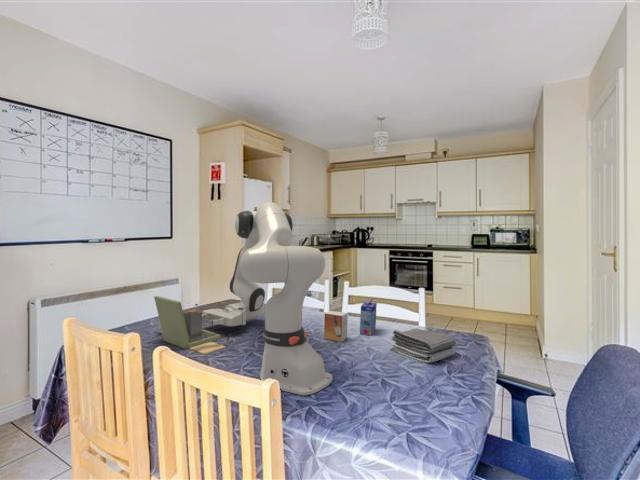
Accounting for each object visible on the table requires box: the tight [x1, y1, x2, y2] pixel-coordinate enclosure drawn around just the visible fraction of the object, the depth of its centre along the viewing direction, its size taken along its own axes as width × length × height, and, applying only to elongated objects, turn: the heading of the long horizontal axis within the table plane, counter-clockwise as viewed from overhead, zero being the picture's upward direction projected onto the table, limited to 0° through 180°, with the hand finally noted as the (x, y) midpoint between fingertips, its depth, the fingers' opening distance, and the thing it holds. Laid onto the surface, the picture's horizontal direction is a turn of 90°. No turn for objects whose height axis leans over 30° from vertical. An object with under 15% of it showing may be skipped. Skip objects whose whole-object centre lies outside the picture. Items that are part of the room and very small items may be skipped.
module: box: [183, 309, 203, 343], centre depth 133 cm, size 5×5×12 cm
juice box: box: [359, 298, 378, 337], centre depth 145 cm, size 10×6×14 cm, turn 161°
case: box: [153, 295, 221, 350], centre depth 133 cm, size 17×18×18 cm
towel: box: [389, 328, 457, 364], centre depth 121 cm, size 15×18×8 cm
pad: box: [189, 341, 226, 356], centre depth 124 cm, size 9×9×1 cm
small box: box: [323, 310, 349, 343], centre depth 136 cm, size 8×6×10 cm
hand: (205, 320), depth 138 cm, fingers open, 8 cm apart
